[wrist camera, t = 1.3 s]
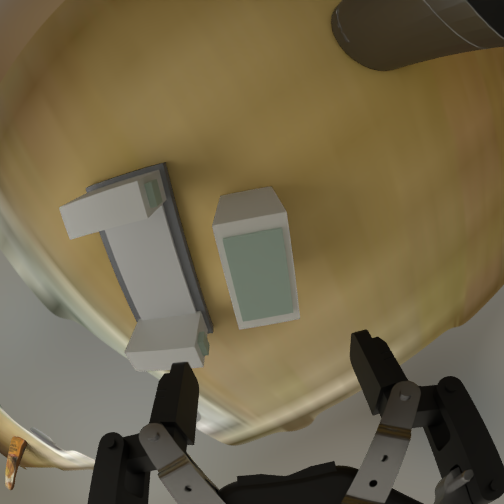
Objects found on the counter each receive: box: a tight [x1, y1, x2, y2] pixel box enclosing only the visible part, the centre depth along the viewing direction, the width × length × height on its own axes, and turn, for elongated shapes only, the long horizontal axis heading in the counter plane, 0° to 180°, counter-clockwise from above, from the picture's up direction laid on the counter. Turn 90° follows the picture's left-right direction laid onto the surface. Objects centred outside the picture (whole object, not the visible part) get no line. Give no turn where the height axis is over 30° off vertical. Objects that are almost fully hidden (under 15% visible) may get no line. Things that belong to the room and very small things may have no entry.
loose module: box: [212, 186, 300, 330], centre depth 24 cm, size 5×9×9 cm, turn 10°
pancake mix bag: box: [5, 437, 27, 490], centre depth 48 cm, size 7×19×28 cm, turn 119°
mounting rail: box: [59, 162, 213, 371], centre depth 26 cm, size 9×20×7 cm, turn 10°
